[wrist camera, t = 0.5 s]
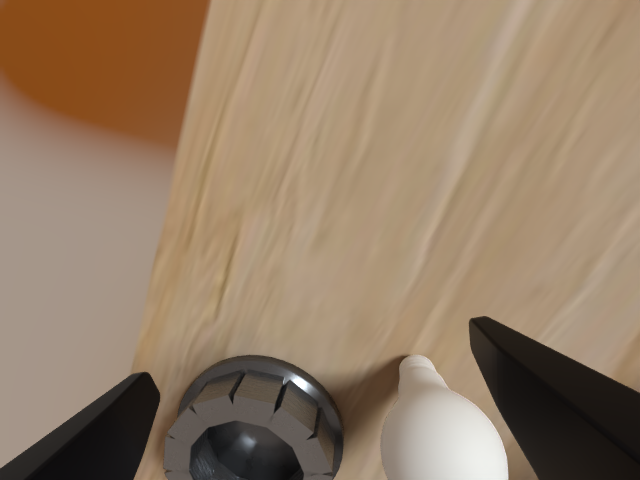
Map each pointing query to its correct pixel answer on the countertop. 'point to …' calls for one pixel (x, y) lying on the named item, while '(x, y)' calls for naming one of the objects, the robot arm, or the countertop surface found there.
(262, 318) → the countertop surface
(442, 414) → the lightbulb
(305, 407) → the socket
